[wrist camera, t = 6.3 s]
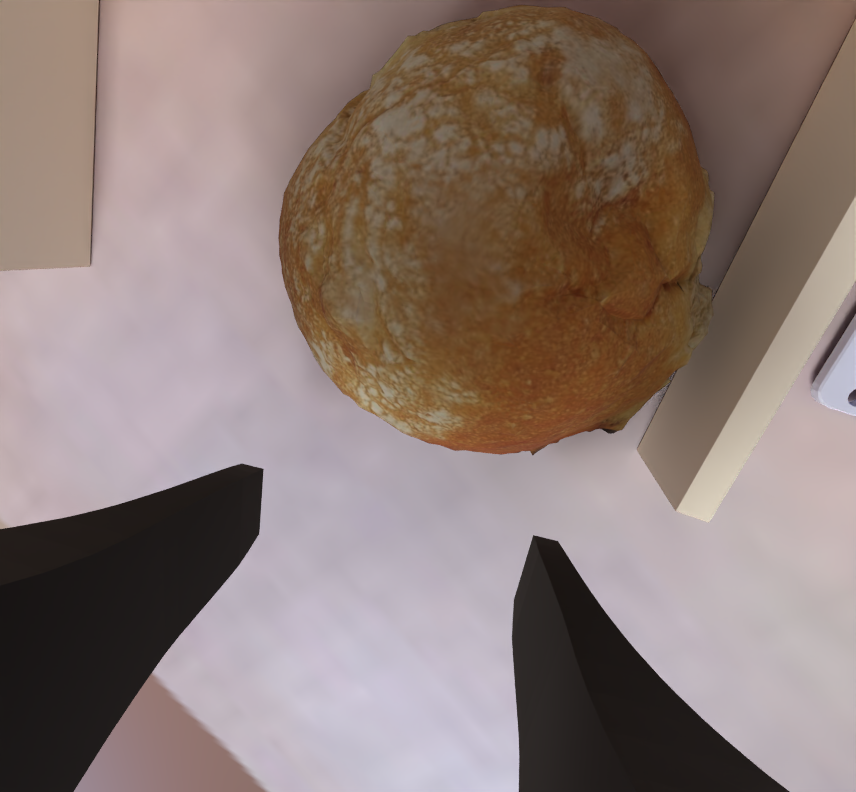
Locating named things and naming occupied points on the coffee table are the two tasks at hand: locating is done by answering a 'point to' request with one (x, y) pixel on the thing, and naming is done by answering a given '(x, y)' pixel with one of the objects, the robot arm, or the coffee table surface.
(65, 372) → the coffee table surface
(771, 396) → the cream low open frame
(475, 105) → the bread roll
